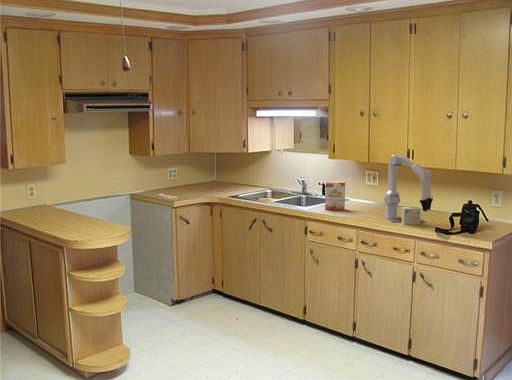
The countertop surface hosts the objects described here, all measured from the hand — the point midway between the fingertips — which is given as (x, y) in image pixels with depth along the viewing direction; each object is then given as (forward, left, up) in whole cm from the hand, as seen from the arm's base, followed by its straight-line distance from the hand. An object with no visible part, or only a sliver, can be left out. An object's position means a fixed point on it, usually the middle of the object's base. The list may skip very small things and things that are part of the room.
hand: (426, 210), depth 353 cm
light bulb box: (-7, -8, -11) cm, 15 cm away
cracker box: (-56, -51, -11) cm, 76 cm away
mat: (-15, -8, -10) cm, 20 cm away
